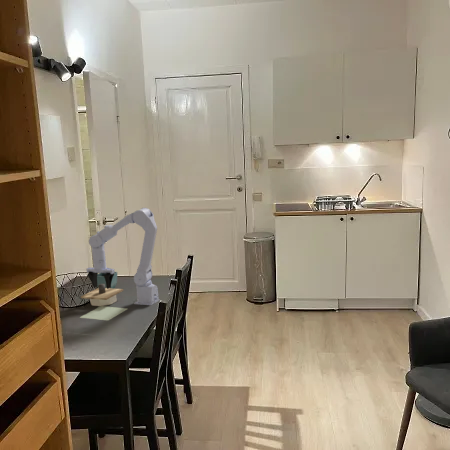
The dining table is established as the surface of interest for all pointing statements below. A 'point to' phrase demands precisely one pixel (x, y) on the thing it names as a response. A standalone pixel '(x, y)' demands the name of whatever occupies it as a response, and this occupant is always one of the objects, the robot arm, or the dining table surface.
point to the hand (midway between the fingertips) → (102, 287)
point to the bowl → (103, 301)
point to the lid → (102, 293)
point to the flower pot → (102, 281)
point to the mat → (103, 313)
